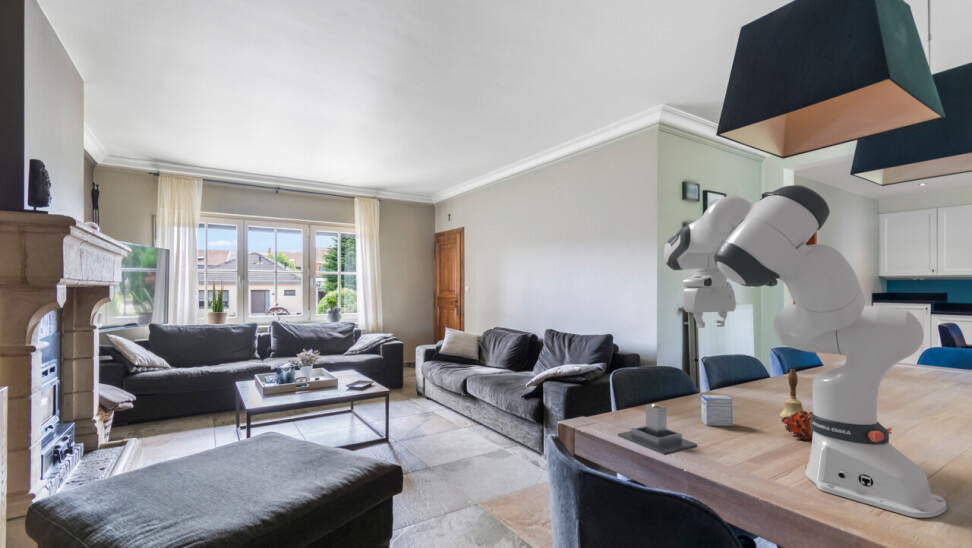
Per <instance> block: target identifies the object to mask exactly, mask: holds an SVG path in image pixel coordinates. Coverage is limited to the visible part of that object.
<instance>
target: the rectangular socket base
mask: <svg viewBox="0 0 972 548" xmlns="http://www.w3.org/2000/svg"><path fill="white" fill-rule="evenodd" d="M617 436H618V437H620V438H623V439H625V440H628V441H630V442H632V443H635V444H637V445H641V446H642V447H645V448H648V449H650V450H652V451H655V452H657V453H660V454H662V455H665V454H670V453H674V452H677V451H682V450H686V449H687V450H688V449H689V448H690V449H691V448H694V447H697V446H698V443H696V442H694V441H693V442H692V441H690V440H688V439H685V438H683V434H682V433H680V432H677V431H674V430H672V429H669V428H666V436H664V437H659V438H658V437H655V436H653V435H650V434H647V433H646V425H644V426H639V427H634V428H633V427H632V428H631V429H630V431H625V432H624V431H623V432H620V433H618V434H617Z"/></svg>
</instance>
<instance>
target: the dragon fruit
mask: <svg viewBox="0 0 972 548" xmlns="http://www.w3.org/2000/svg"><path fill="white" fill-rule="evenodd" d="M812 412H813V411H805V410H803V411H801V410H799V413H796V414H792V415H791V416H787V417H784V418H782V419H781V423H783V424H784V428H785V430H786V431H787V432H788V433H792V434H794V435H796V437H797V439H798V440H804V439H805V438H806V439H807V440H808V441H810V442H812V435H811V427H810V422H811V413H812Z"/></svg>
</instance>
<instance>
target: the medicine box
mask: <svg viewBox="0 0 972 548" xmlns="http://www.w3.org/2000/svg"><path fill="white" fill-rule="evenodd" d="M700 402H701V403H700V405H701V406H700V407H701V410H700V411H701V413H700V414H701V416H700V417H701V422H702V423H703V424H704V426H709V427H712V426H713V427H716V426H717V427H733V425H734V424H733V418H734V416H733V399H732V398H731V397H729V396H727V395H722V394H720V395H719V394H717V395H716V394H715V395H713V394H701V395H700Z"/></svg>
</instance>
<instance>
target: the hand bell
mask: <svg viewBox="0 0 972 548" xmlns="http://www.w3.org/2000/svg"><path fill="white" fill-rule="evenodd" d="M787 379H788V380H787V381H788V384H789V391H790V392H789V398H788V399H786V400H785V403H784V406H783V409H782V411H781V412H780V413H779V414H778V417H780V418H782V419H783V418H784V417H787V416H791V415H792V414H796V413H799V410H801V411H804V408H803V403H802V402H801V400H798V399H797V391H796V389H797V385H798V380H799V379H798V374H797V372H796V369H794V368H790V370H789V373H788V375H787Z"/></svg>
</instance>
